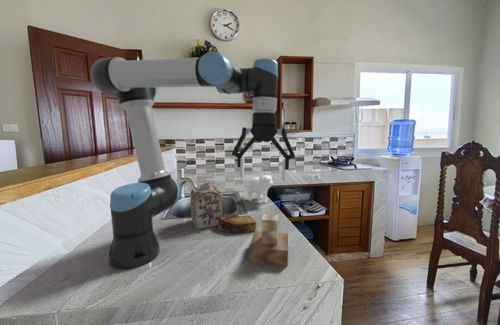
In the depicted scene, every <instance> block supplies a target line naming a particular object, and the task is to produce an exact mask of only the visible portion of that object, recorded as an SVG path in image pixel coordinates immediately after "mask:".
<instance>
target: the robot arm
mask: <svg viewBox="0 0 500 325" xmlns="http://www.w3.org/2000/svg"><path fill="white" fill-rule="evenodd" d="M278 70H279V65H278V61H276V60H274V59H273V58H260V59H259V58H258V59H255V60H254V61H253V65H252V67H248V68H245V67H243V68H242V67H241V68H238V66H236V65H235V64H234V63H233V62H231V61H230V60H229V59H228V57H227V56H225V55H223V54H221V53H220V52H217V51H208V52H206V53H205V54H203V55H202V56H200V57H181V58H158V59H139V60H138V59H137V60H135V59H134V60H127V59H125V58H123V57H119V56H117V57H116V56H115V57H113V56H112V57H103V58H100V59H98V60H95V62H94V63H93V64H92V66H91V68H90V78H91V82H92V84H93V85H94V87H95V88H96V89H97V90H98V91H99V92H101V93H102V94H104V95H107V96H109V97H113V98H117V99H118V103H119V107H120V108H122V109H123V110H124V111H125V113H126V117H127V119H128V126H129V130H130V134H131V137H132V142H133V146H134V151H135V156H136V159H137V163H138V167H139V171H140V177H139V178H138V179H137V182H132V183H129V184H124V185H121V186H118V187H117V188H115V189H114V190H112V191H111V193H110V196H109V198H110V200H109V202H110V203H109V208H110V215H111V226H112V236H113V237H112V241H111V244H110V245H111V246H110V248H109V252H108V255H107V256H108V263H109V265H110V266H111V267H113V268H116V269H131V268H133V269H134V268H136V267H140V266H143V265H146V264H148V263H150V262H152V261H153V260H155V259H156V258H157V257H158V256H159V254H160V252H161V248H160V247H161V245H160V244H159V240H158V239H157V236H156V233H155V232H154V228H153V226H154V225H153V224H154V223H153V218H154V217H155V216H157V215H159V214H161V213H163V212H165V211H168V210H169V209H171V208H173V206H175V205H176V204H177V203H178V201H179V199H180V196H181V188H180V186H179V183H178V182H177V181H176V180H175V179H174V178H172V175H171V172H169V171H167V170H166V168H165V162H164V158H163V155H162V148H161V146H160V145H161V144H160V141H159V137H158V133H157V132H158V131H157V128H156V123H155V118H154V114H153V110H152V107H153V105H155V98H156V95H157V93H158V88H182V87H183V88H186V87H187V88H191V87H198V88H199V87H203V88H204V87H205V88H207V87H209V88H210V87H211V88H212V87H215V89H216V91H217V92H218V93H219V94H227V95H232V94H234V95H235V94H252V111H253V113H252V118H251V120H252V121H251V122H252V123H251V124H252V126H251V128H250V127H242V129H241V134H240V137H239V139H238V141H237V143H236V145H235V146H234V149H233V150H232V153H231V155H232V156H235V157H236V158H237V159H236V160H237V163H236V166H237V168H240V169H239V170H240V172H239V174H240V175H239V177H240V178H241V179H244V177H245V157H244V155H245V153H246V152H247V151H248V150H249V149H250V148H251V147H252V146H253V144H255V142H256V141H257V142H258V143H261V142H264V143H270V142H271V143H272V144H273V146H275V148H276V149H277V150H278V151H279V153H280V154H281V155H282V157H283V158H282V169H281V170H282V171H281V172H282V174H281V181H285V178H286V176H285V174H286V170H287V171H288V170H289V168H290V160H291V159H295V157H296V154H295V152H294V150H293V148H292V145H291V143H290V141H289V139H288V137H287V132H286V128H283V127H282V128H277V114H276V112H277V109H278V108H277V107H278V87H279V86H278V85H279V84H278V83H279V71H278ZM250 133H251V135H252V137H251V139H250V140H249V141H248V142H247V143H246V144H245V146H244V147H243V148H242V145H243V143H244V141H245V139H246V138H247V135H249V134H250ZM276 134H279V136H282V137H281V138H282V140H283V142H284V144H285V146H286V148H287V151H288V152H289V153H287V152H286V151H285V149H284V148H283V147H282V146H281V145H280V143H279V142H278V140H277V138H275V136H276ZM240 148H242V149H241V150H240ZM239 151H240V152H239ZM240 178H239V179H240Z"/></svg>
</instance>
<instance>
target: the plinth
mask: <svg viewBox="0 0 500 325" xmlns="http://www.w3.org/2000/svg"><path fill="white" fill-rule="evenodd" d="M288 261H289V234H288V233H287V232H278V241H277V244H265V243H262V231H258V230H256V231H253V235H252V237H251V240H250V243H249V247H248V262H249V263H252V264H254V263H255V264H263V265H271V266H272V265H275V266H282V267H283V266H284V267H288V263H289V262H288Z"/></svg>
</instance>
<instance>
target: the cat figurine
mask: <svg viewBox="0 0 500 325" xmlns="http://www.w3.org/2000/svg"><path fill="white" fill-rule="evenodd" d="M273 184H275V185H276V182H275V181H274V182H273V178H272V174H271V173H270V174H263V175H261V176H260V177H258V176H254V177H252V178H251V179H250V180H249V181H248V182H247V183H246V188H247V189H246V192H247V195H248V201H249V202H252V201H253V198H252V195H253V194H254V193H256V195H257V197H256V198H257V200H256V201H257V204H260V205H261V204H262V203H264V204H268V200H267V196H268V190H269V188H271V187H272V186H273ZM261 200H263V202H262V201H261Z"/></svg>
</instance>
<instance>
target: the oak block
mask: <svg viewBox="0 0 500 325" xmlns="http://www.w3.org/2000/svg"><path fill="white" fill-rule="evenodd" d="M261 232H262V243H265V244H277V241H278V233H279V214H267V213H263V214H262V218H261Z"/></svg>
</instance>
